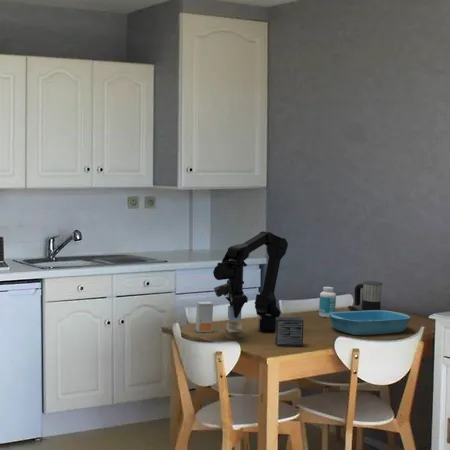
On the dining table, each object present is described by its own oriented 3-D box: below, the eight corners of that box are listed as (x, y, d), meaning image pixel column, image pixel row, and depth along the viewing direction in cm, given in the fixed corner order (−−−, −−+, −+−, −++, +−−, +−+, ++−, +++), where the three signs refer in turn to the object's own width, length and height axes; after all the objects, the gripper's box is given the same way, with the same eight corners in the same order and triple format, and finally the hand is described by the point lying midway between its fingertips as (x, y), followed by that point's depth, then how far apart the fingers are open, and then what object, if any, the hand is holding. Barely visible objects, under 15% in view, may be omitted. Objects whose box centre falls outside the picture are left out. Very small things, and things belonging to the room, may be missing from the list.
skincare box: (198, 332, 364) (198, 303, 363) (195, 330, 368) (196, 301, 367) (212, 332, 366) (213, 303, 365) (209, 330, 370) (210, 301, 369)
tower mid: (239, 329, 360) (239, 322, 360) (241, 331, 355) (242, 324, 354) (226, 329, 359) (227, 322, 359) (229, 331, 354) (229, 324, 354)
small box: (301, 343, 351) (302, 316, 350) (303, 346, 344) (304, 320, 343) (274, 342, 350) (275, 316, 350) (275, 346, 344) (277, 319, 343)
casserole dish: (387, 323, 399) (388, 307, 399) (419, 333, 380) (420, 316, 379) (318, 328, 383) (319, 312, 382) (348, 339, 363) (349, 321, 362)
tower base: (237, 336, 361) (237, 329, 360) (242, 339, 355) (243, 331, 355) (225, 336, 358) (225, 329, 358) (230, 339, 353) (230, 332, 353)
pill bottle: (331, 318, 405) (333, 289, 404) (316, 316, 408) (317, 287, 407) (337, 316, 412) (338, 287, 410) (322, 314, 415) (323, 285, 414)
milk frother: (383, 312, 425) (384, 281, 424) (375, 318, 410) (376, 286, 409) (354, 309, 430) (355, 279, 429) (345, 314, 416) (346, 283, 415)
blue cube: (238, 318, 359) (239, 305, 359) (241, 320, 355) (241, 307, 355) (227, 318, 358) (228, 305, 358) (230, 320, 354) (230, 307, 354)
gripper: (211, 274, 363) (210, 312, 364) (220, 281, 345) (219, 321, 346) (238, 274, 365) (237, 312, 366) (248, 281, 347) (247, 321, 348)
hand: (234, 316), depth 357 cm, fingers closed on blue cube, 4 cm apart
